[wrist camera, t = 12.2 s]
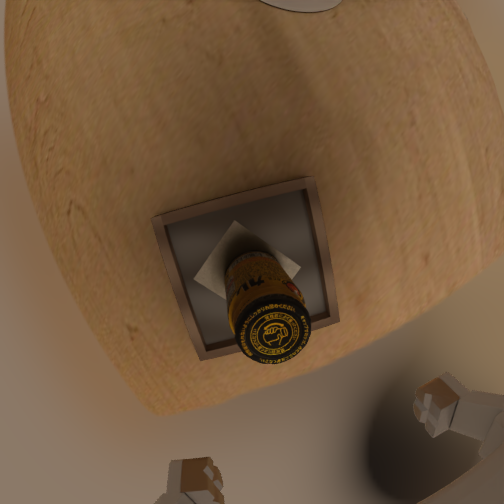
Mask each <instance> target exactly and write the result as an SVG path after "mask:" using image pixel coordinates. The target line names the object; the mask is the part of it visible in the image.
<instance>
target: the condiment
mask: <svg viewBox="0 0 504 504" xmlns="http://www.w3.org/2000/svg"><path fill="white" fill-rule="evenodd" d="M300 268H301V267H300V266H299V265H297V264H296V263H295V262H293V261H292V260H291V259H289V258H288V257H286V256H285V255H283V254H282V253H281V252H279V251H278V250H276V249H275V248H274V247H272V246H271V245H269V244H268V243H266V242H265V241H264V240H262V239H261V238H259V237H258V236H257V235H255V234H254V233H252V232H251V231H249V230H248V229H246V228H245V227H244V226H242V225H241V224H239V223H238V222H236V221H234V222H233V223H232V225H231V226H230V228H229V229H228V230H227V232H226V233H225V234H224V236H223V237H222V239H221V240H220V241H219V243H218V244H217V246H216V247H215V249H214V250H213V251H212V253H211V254H210V255H209V257H208V259H207V260H206V262H205V263H204V264H203V266H202V267H201V269H200V270H199V272H198V273H197V275H196V276H195V278H194V280H196V281H197V282H199V283H200V284H202V285H203V286H205V287H207V288H208V289H209V290H211V291H213V292H214V293H216V294H217V295H219V296H221V297H222V298H224V299H226V303H227V313H228V321H229V326H230V328H231V330H232V332H233V333H234V335H235V340H236V343H237V345H238V346H239V348H240V349H241V351H242V352H243V353H244V354H245V355H246V356H247V357H249V358H251V359H252V360H254V361H257V362H259V363H262V364H279V363H282V362H285V361H287V360H289V359H291V358H293V357H294V356H296V355H297V354H298V353H299V352H300V351H301V350H302V349H303V348H304V347H305V345H306V344H307V342H308V339H309V337H310V334H311V318H310V315H309V312H308V310H307V309H306V305H305V300H304V298H303V295H302V293H301V291H300V290H299V289H298V288H297V286H296V285H295V284H294V282H293V281H292V279H293V277H294V276H295V275H296V273H297V272H298V271H299V269H300ZM223 276H224V277H223Z"/></svg>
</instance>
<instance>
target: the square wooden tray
mask: <svg viewBox="0 0 504 504" xmlns="http://www.w3.org/2000/svg"><path fill="white" fill-rule="evenodd" d="M151 221H152V225H153V228H154V231H155V235H156V238H157V241H158V245H159V248H160V251H161V254H162V257H163V261H164V264H165V267H166V270H167V273H168V276H169V279H170V282H171V285H172V288H173V291H174V293H175V296H176V299H177V302H178V305H179V307H180V310H181V313H182V316H183V318H184V321H185V324H186V326H187V329H188V332H189V334H190V337H191V339H192V342H193V344H194V347H195V349H196V352H197V354H198V357H199V359H200V361H203V360H207V359H212V358H216V357H220V356H224V355H228V354H233V353H237V352H240V351H241V349H240V348H239V346H238V345H237V343H236V340H235V335H234V333H233V332H232V330H231V328H230V326H229V321H228V313H227V303H226V299H224V298H222V297H221V296H219V295H217V294H216V293H214V292H213V291H211V290H209V289H208V288H207V287H205V286H203V285H202V284H200V283H199V282H197V281H196V280H194V278H195V276H196V275H197V273H198V272H199V270H200V269H201V267H202V266H203V264H204V263H205V262H206V260H207V259H208V257H209V255H210V254H211V253H212V251H213V250H214V249H215V247H216V246H217V244H218V243H219V241H220V240H221V239H222V237H223V236H224V234H225V233H226V232H227V230H228V229H229V228H230V226H231V225H232V223H233V222H234V221H236V222H238V223H239V224H241V225H242V226H244V227H245V228H246V229H248V230H249V231H251V232H252V233H254V234H255V235H257V236H258V237H259V238H261V239H262V240H264V241H265V242H266V243H268V244H269V245H271V246H272V247H274V248H275V249H276V250H278V251H279V252H281V253H282V254H283V255H285V256H286V257H288V258H289V259H291V260H292V261H293V262H295V263H296V264H297V265H299V266H300V267H301V268H300V269H299V271H298V272H297V273H296V275H295V276H294V277H293V279H292V281H293V282H294V284H295V285H296V286H297V288H298V289H299V290H300V291H301V293H302V295H303V298H304V300H305V305H306V309H307V310H308V312H309V315H310V318H311V331H313V330H316V329H320V328H323V327H326V326H329V325H332V324H335V323H337V322H340V318H339V311H338V304H337V297H336V290H335V283H334V277H333V271H332V265H331V259H330V253H329V247H328V242H327V236H326V231H325V226H324V221H323V216H322V211H321V206H320V201H319V196H318V192H317V187H316V183H315V178H314V176H307V177H303V178H298V179H294V180H289V181H285V182H280V183H276V184H272V185H268V186H264V187H259V188H255V189H251V190H247V191H243V192H239V193H236V194H232V195H228V196H224V197H220V198H217V199H213V200H209V201H205V202H202V203H198V204H195V205H191V206H188V207H184V208H181V209H177V210H174V211H170V212H167V213H164V214H160V215H157V216H155V217H153V218H151ZM223 277H224V276H223Z"/></svg>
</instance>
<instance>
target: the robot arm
mask: <svg viewBox="0 0 504 504" xmlns="http://www.w3.org/2000/svg"><path fill="white" fill-rule="evenodd" d="M261 1H263V2H265V3H268V4H270V5H273V6H276V7H279V8H283V9H287V10H292V11H300V12H318V11H324V10H328V9H331V8H333V7H335V6H336V5H338V4H339V3H340V2H341V1H342V0H261ZM415 396H416V397H417V399H416V400H415V402H414V406H413V409H414V413H415V415H416V417H417V419H418V420H419V421H420V422H423V423H425V429H426V430H427V431H428V433H429V434H430V435H431V436H432V438H434V437H436V436H437V435H439V434H441V433H442V432H444V431H446V430H448V429H449V428H450V430H452V431H455V432H458V433H461V434H464V435H467V436H469V437H472V438H475V439H478V440H481V441H484V442H483V444H482V446H481V447H480V449H479V454H480V456H481V457H482V458H483V460H482V461H481V462H479V463H478V464H477V465H476V466H474V467H473V468H472V469H470V470H469V471H468V472H466V473H465V474H463V475H462V476H461V477H459V478H458V479H457V480H455V481H453V482H452V483H450V484H449V485H447V486H446V487H444V488H443V489H441V490H439V491H438V492H436V493H434V494H433V495H431V496H429V497H428V498H426V499H424V500H423V501H421V502H419V503H417V504H504V395H499V394H493V393H487V392H481V391H475V390H472V391H471V392H470V391H469V390H468V389H467V388H466V387H465V386H464V385H462V384H461V383H460V382H459V381H458V380H457V379H456V378H455V377H454V376H452V375H451V374H450V373H449V372H445V373H443V374H442V375H440V376H439V377H437V378H435V379H433V380H431V381H429V382H428V383H426V384H424V385H422V386H420V387H419V388H417V390H416V392H415ZM222 488H223V480H222V476H221V473H220V471H219V469H218V467H216V466H214V465H213V460H212V459H211V457H202V458H193V459H182V460H171V462H170V464H169V471H168V481H167V492H166V494H162V495H161V496H160V497H159V499H158V500H157V501H156V502H155V503H154V504H224V495H223V494H222V493H221V492H220V491H221V489H222Z"/></svg>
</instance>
